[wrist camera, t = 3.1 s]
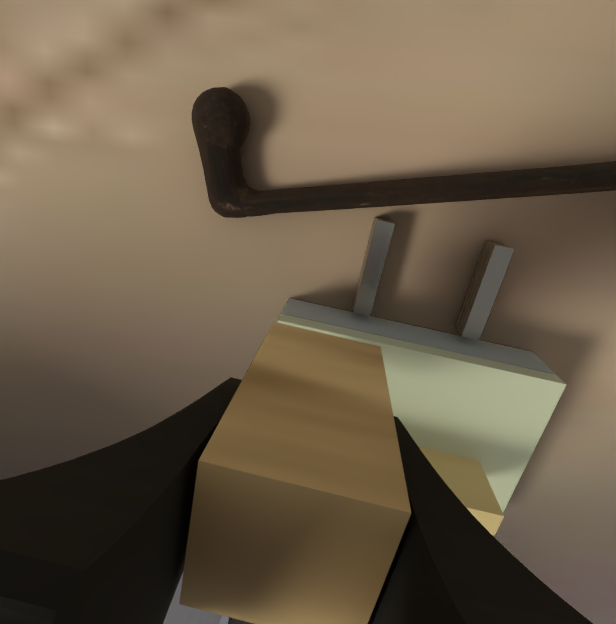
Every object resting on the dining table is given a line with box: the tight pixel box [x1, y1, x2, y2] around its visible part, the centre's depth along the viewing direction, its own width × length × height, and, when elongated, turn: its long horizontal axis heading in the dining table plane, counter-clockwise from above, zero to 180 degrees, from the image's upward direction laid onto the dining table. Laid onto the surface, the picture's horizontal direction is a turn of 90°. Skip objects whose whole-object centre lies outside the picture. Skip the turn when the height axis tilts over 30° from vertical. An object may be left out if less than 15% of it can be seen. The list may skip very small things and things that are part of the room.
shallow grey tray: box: [282, 298, 555, 374], centre depth 19 cm, size 10×12×2 cm
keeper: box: [353, 217, 514, 340], centre depth 17 cm, size 4×6×1 cm
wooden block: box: [179, 322, 411, 624], centre depth 10 cm, size 4×4×6 cm
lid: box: [277, 314, 567, 536], centre depth 16 cm, size 10×12×4 cm
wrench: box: [192, 87, 616, 218], centre depth 14 cm, size 5×5×30 cm
